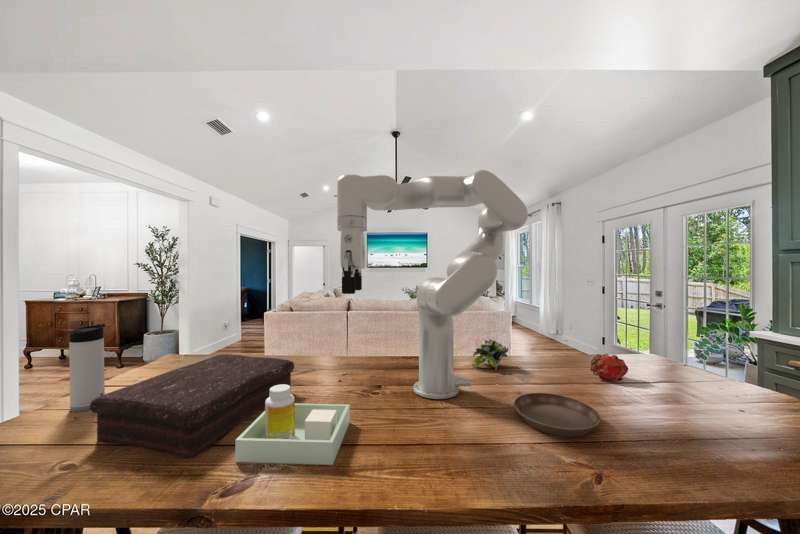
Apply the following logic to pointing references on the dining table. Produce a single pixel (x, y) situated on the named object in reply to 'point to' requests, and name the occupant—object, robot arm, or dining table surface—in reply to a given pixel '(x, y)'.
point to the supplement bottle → (280, 413)
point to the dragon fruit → (608, 367)
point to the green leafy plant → (490, 353)
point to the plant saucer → (557, 414)
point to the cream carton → (320, 424)
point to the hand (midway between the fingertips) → (352, 291)
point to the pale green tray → (293, 440)
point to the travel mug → (86, 366)
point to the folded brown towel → (189, 404)
